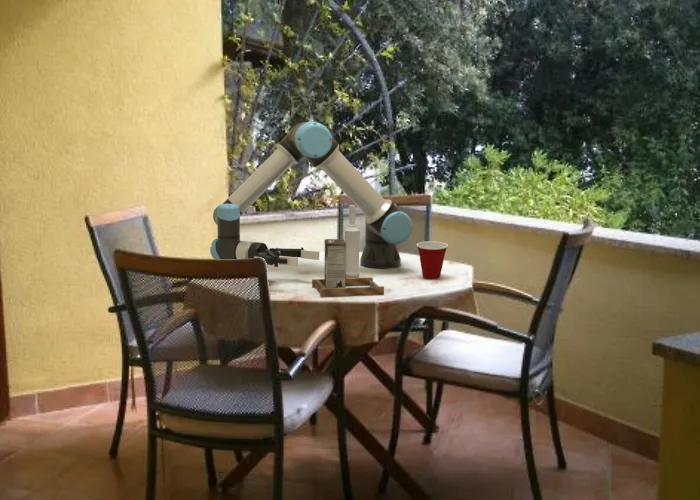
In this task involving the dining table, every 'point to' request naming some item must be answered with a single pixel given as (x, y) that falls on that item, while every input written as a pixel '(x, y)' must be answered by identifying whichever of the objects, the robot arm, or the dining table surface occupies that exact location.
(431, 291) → the dining table surface
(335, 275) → the coffee box
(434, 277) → the plastic cup
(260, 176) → the robot arm
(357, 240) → the bottle
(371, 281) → the frame
